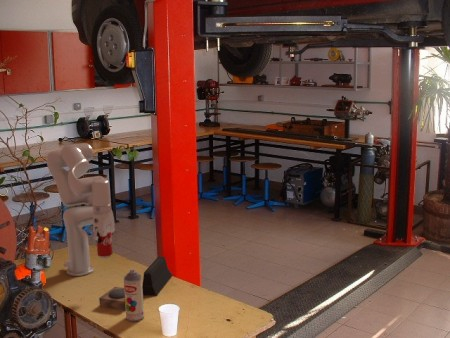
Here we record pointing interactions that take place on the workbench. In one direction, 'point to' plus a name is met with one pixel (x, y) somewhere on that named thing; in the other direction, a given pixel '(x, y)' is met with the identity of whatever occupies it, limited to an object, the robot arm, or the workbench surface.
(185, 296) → the workbench surface
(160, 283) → the barrier
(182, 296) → the workbench surface
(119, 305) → the walnut plinth
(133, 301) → the aerosol can
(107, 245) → the beverage can
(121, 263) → the workbench surface
